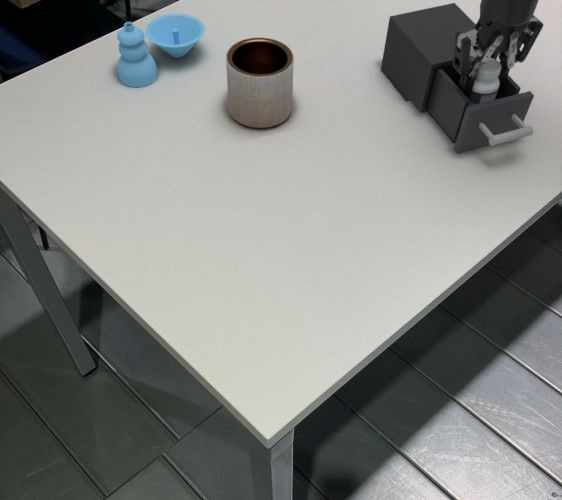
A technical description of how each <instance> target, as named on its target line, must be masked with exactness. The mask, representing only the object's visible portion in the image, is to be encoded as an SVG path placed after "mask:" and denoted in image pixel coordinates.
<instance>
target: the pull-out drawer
mask: <svg viewBox="0 0 562 500" xmlns="http://www.w3.org/2000/svg"><path fill="white" fill-rule="evenodd" d="M490 58H491V57H490ZM474 63H475V59H474V61H473V63H472V64H471V65H472V66H473V65H474ZM460 78H461V75H460V74H459V73H458V72H457V71H456V69H455V68H454V67H453V64H451V65H447V66H443V67H438V68H435V71H434V75H433V79H432V83H431V87H430V91H429V95H428V99H427V103H426V107H425V110H427V111H428V113H429V114H430V115H431V116H432V118H433V119H434V120H435V121H436V122H437V123H438V125H439V126H440V127H441V128H442V130H443V131H444V132H445V134H446V135H447V136H448V137H449V139H451V141H452V142H453V143H454V142H455V143H454V147H453V151H454V152H455V153H456V155H457V154H462V153H466V152H469V151H473V150H478V149H480V148H485V147H488V146H491V147H493V146H496V145H501V144H504V143H507V142H512V141H516V140H519V139H523V138H526V137H530V136H532V135H533V134H534V128H533V127H532V126H531V125H528V126H527V125H526V124H525V123H524V121H525V119H526V117H527V114H528V111H529V109H530V107H531V105H532V102H533V99H534V98H535V95H534V94H533V92H531V90H529V91H525V92H521V89H522V88H521V86H519V84H518V83H517V82H516V81H515V80H514V79H513V78H512V77H511V76H510V75H509V74H508V76H507V79H506V82H505V84H504V85H503V86H502V89H501V90H498V91H497V94H496V97H495V100H493V101H489V102H485V103H481V104H477V105H473V106H469V103H470V100H469V99H468V98H467V97H466V96H465V94H464V93H463V92H462V91H461V90H460V89H459V88H458V85H459V82H460ZM520 92H521V93H520ZM468 106H469V107H468Z"/></svg>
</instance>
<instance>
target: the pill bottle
mask: <svg viewBox="0 0 562 500" xmlns="http://www.w3.org/2000/svg"><path fill="white" fill-rule="evenodd" d="M500 71H501V64H500V61H499V60H495V59H493V58H489V60H488V61H487V63H486V64H483V65H482V66H481V68H480V70H479V71H478V73H477V74H476V79H475V82H474V86H473V89H472V92H471V95H470V97H469V98H468V99H469V100H470V103H469V106H473V105H477V104H481V103H485V102H489V101H493V100H495V97H496V94H497V91H498V88H499V84H500V82H499V79H498V76H499V74H500ZM469 106H468V107H469Z"/></svg>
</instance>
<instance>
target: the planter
mask: <svg viewBox="0 0 562 500" xmlns="http://www.w3.org/2000/svg"><path fill="white" fill-rule="evenodd" d="M294 57H295V56H294V53H293V51H292V50H291V48H290V47H288V46H287V44H285V43H284V42H281V41H279V40H277V39H273V38H268V37H250V38H246V39H242V40H240V41H237V42H236V43H234V44H232V45H231V46H230V48H229V49H228V50H227V52H226V55H225V63H226V64H225V65H226V86H227V87H226V88H227V89H226V90H227V91H226V92H227V108H228V112H229V114H230V116H231V118H233V120H235V121H236V122H238V123H239V124H241V125H244V126H246V127H250V128H254V129H266V128H273V127H276V126H278V125H280V124H282V123H284V122H285V121H287V119H288V118H289V117H290V116H291V113H292V110H293V98H294V97H293V95H294V94H293V93H294V92H293V91H294V61H295V59H294Z"/></svg>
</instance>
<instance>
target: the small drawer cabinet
mask: <svg viewBox="0 0 562 500" xmlns="http://www.w3.org/2000/svg"><path fill="white" fill-rule="evenodd" d="M475 25H476V23H475V22H474V20H472V19H471V18H470V17H469V16H468V15H467V14H466V13H465V11H463V10H462V8H460V6H458V5H457V4H456V3H455V2H451V3H448V4H442V5H437V6H433V7H428V8H424V9H423V8H422V9H419V10H413V11H409V12H404V13H399V14H395V15H390V16H389V19H388V25H387V30H386V36H385V43H384V48H383V54H382V60H381V67H380V70H381V72H382V73H383V74H384V76H385V77H386V78H387V80H388V81H389V83H391V84H392V86H393V87H394V88H395V89H396V90H397V92H398V93H399V94H400V95H401V97H402V98H403V99H404V101H405V102H411V104H412V105H413V106H414V107H415V108H416V110H417V111H418V112H419V114H422V113H425V110H426V108H425V107H426V103H427V99H428V95H429V91H430V87H431V83H432V79H433V75H434V71H435V68H438V67H443V66H447V65H451V64H453V55H454V42H455V34H456V33H457V32H458V31H460V30H461V31H463V33H466V32H468V31H471V30H473V29H474V26H475ZM473 42H474V41H473ZM479 52H480V53H481V54H483V53H484V52H483V51H482V50H481V49H480V48H479ZM491 58H493V59H495V60H497V59H498V58H499V52H496V53H494V54H492V55H491ZM497 61H498V60H497Z"/></svg>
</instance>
